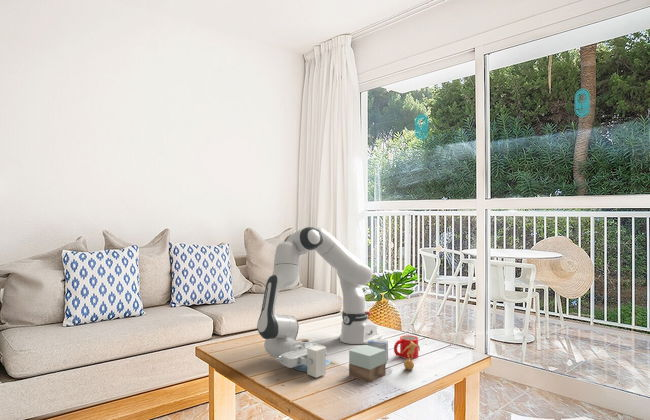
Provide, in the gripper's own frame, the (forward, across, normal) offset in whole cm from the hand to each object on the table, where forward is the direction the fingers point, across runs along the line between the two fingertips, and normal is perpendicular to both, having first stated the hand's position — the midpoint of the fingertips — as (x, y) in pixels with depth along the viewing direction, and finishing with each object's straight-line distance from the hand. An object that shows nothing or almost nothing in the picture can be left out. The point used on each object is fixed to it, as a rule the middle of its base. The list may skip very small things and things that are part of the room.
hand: (317, 360), depth 163 cm
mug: (+11, +43, +7) cm, 45 cm away
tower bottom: (+13, +14, +7) cm, 20 cm away
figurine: (+22, +30, +7) cm, 38 cm away
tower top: (+13, +14, +2) cm, 19 cm away
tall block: (-1, 0, +6) cm, 6 cm away
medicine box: (+6, +30, +7) cm, 31 cm away
